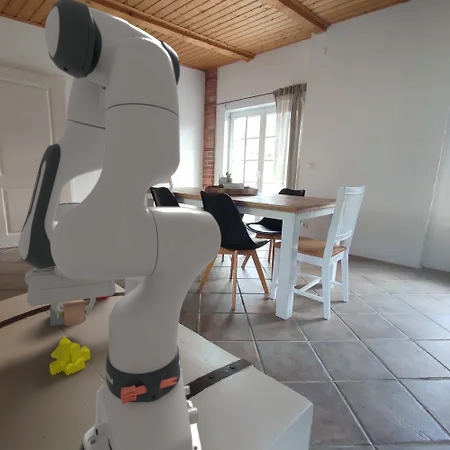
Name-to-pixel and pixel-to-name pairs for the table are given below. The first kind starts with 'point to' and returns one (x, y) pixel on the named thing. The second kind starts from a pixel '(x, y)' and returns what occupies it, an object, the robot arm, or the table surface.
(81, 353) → the yellow crystal cluster
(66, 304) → the peach rounded cylinder
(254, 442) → the table surface
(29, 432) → the table surface
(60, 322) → the tower base block
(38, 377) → the table surface
